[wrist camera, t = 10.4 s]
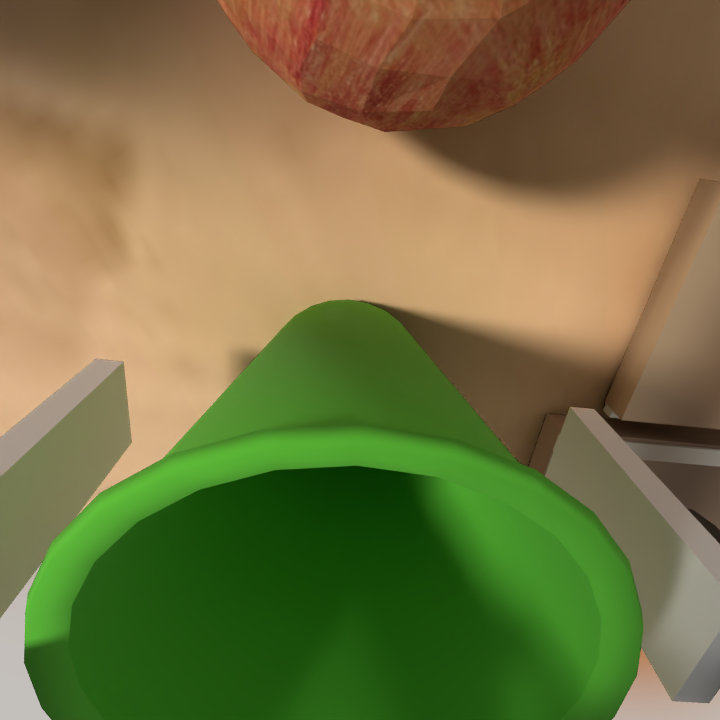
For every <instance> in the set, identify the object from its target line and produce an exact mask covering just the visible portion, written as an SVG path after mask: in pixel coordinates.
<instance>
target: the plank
mask: <svg viewBox="0 0 720 720" xmlns="http://www.w3.org/2000/svg"><path fill="white" fill-rule="evenodd" d="M605 403H606V405H605V407H604V409H603V411H604V412H605V413H606V414H607V415H608V416H609V417H610V418H620V419H621V420H626V421H637V422H647V423H658V424H668V425H679V426H689V427H700V428H710V429H720V182H718V181H710V180H703V179H700V180H699V182H698V184H697V187H696V189H695V191H694V194H693V196H692V198H691V201H690V203H689V205H688V208H687V210H686V212H685V215H684V217H683V219H682V222H681V224H680V226H679V229H678V231H677V233H676V236H675V238H674V241H673V243H672V245H671V248H670V250H669V252H668V255H667V257H666V259H665V262H664V264H663V266H662V269H661V271H660V273H659V276H658V278H657V280H656V283H655V285H654V287H653V290H652V292H651V294H650V297H649V299H648V302H647V304H646V306H645V309H644V311H643V313H642V316H641V318H640V320H639V323H638V325H637V327H636V330H635V332H634V334H633V337H632V339H631V341H630V344H629V346H628V348H627V351H626V353H625V355H624V358H623V360H622V363H621V365H620V367H619V370H618V372H617V374H616V377H615V379H614V381H613V384H612V386H611V388H610V391H609V393H608V395H607V398H606V400H605Z"/></svg>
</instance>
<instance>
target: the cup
mask: <svg viewBox="0 0 720 720" xmlns="http://www.w3.org/2000/svg"><path fill="white" fill-rule="evenodd" d="M643 630H644V628H643V616H642V609H641V605H640V601H639V597H638V593H637V589H636V585H635V581H634V577H633V573H632V569H631V565H630V562H629V560H628V558H627V557H626V556H625V554H624V553H623V552H622V550H621V549H620V547H619V546H618V545H617V543H616V542H615V540H614V539H613V538H612V536H611V535H610V533H609V532H608V531H607V529H606V528H605V527H604V525H603V524H602V522H601V521H600V520H599V518H598V517H597V515H596V514H595V513H594V512H593V511H592V510H590V509H589V508H588V507H586V506H585V505H584V504H582V503H581V502H579V501H578V500H577V499H575V498H574V497H573V496H571V495H570V494H568V493H567V492H566V491H564V490H563V489H562V488H560V487H559V486H557V485H556V484H555V483H553V482H552V481H551V480H549V479H548V478H546V477H545V476H544V475H542V474H541V473H540V472H538V471H537V470H535V469H533V468H530V467H528V466H525V465H523V464H520V463H518V461H517V460H516V459H515V458H514V457H513V455H512V454H511V453H510V452H509V451H508V450H507V448H506V447H505V446H504V445H503V444H502V442H501V441H500V440H499V439H498V438H497V437H496V435H495V434H494V433H493V432H492V431H491V429H490V428H489V427H488V426H487V425H486V423H485V422H484V421H483V420H482V419H481V418H480V416H479V415H478V414H477V413H476V412H475V410H474V409H473V408H472V407H471V406H470V405H469V403H468V402H467V401H466V400H465V399H464V397H463V396H462V395H461V394H460V393H459V392H458V390H457V389H456V388H455V387H454V386H453V384H452V383H451V382H450V381H449V380H448V378H447V377H446V376H445V375H444V374H443V373H442V371H441V370H440V369H439V368H438V367H437V365H436V364H435V363H434V362H433V361H432V360H431V358H430V357H429V356H428V355H427V354H426V352H425V351H424V350H423V349H422V348H421V347H420V345H419V344H418V343H417V342H416V341H415V339H414V338H413V337H412V336H411V335H410V333H409V332H408V331H407V330H406V329H405V328H404V326H403V325H402V324H401V323H400V322H399V321H398V320H397V319H395V318H394V317H393V316H391V315H390V314H389V313H388V312H386V311H385V310H383V309H380V308H378V307H376V306H373V305H371V304H369V303H365V302H359V301H354V300H334V301H327V302H324V303H320V304H317V305H314V306H311V307H309V308H307V309H306V310H304V311H302V312H301V313H299V314H297V315H295V316H294V317H293V318H292V319H291V320H290V321H289V322H288V323H287V324H286V325H285V326H284V327H283V328H282V329H281V331H280V332H279V333H278V334H277V335H276V336H275V337H274V338H273V339H272V340H271V341H270V343H269V344H268V345H267V346H266V347H265V348H264V349H263V350H262V351H261V352H260V353H259V355H258V356H257V357H256V358H255V359H254V360H253V361H252V362H251V363H250V364H249V365H248V367H247V368H246V369H245V370H244V371H243V372H242V373H241V374H240V375H239V376H238V377H237V379H236V380H235V381H234V382H233V383H232V384H231V385H230V386H229V387H228V388H227V389H226V391H225V392H224V393H223V394H222V395H221V396H220V397H219V398H218V399H217V400H216V401H215V403H214V404H213V405H212V406H211V407H210V408H209V409H208V410H207V411H206V412H205V413H204V415H203V416H202V417H201V418H200V419H199V420H198V421H197V422H196V423H195V424H194V425H193V427H192V428H191V429H190V430H189V431H188V432H187V433H186V434H185V435H184V436H183V437H182V439H181V440H180V441H179V442H178V443H177V444H176V445H175V446H174V447H173V448H172V449H171V451H170V452H169V453H168V454H167V455H166V456H165V457H164V458H163V459H162V460H160V461H158V462H156V463H154V464H152V465H151V466H149V467H147V468H145V469H143V470H141V471H140V472H138V473H136V474H134V475H132V476H130V477H129V478H127V479H125V480H123V481H121V482H119V483H118V484H116V485H114V486H112V487H110V488H108V489H107V490H105V491H103V492H101V493H100V494H99V495H98V496H97V497H96V498H95V499H94V500H93V501H92V502H91V503H90V504H89V505H88V506H87V507H86V508H85V509H84V510H83V511H82V512H81V513H80V514H79V515H78V516H77V517H76V518H75V519H74V520H73V521H72V522H71V523H70V524H69V525H68V526H67V527H66V528H65V529H64V530H63V531H62V532H61V533H60V534H59V535H58V536H57V537H56V538H55V539H54V540H53V541H52V542H51V544H50V546H49V549H48V551H47V553H46V555H45V557H44V560H43V562H42V564H41V566H40V568H39V571H38V573H37V575H36V577H35V579H34V581H33V584H32V586H31V588H30V590H29V592H28V597H27V605H26V613H25V651H24V664H25V666H26V669H27V671H28V674H29V677H30V679H31V682H32V684H33V687H34V689H35V692H36V694H37V697H38V700H39V702H40V705H41V707H42V709H43V710H44V711H45V712H46V714H47V715H48V716H49V717H50V718H51V720H612V719H613V718H614V717H615V715H616V713H617V711H618V709H619V708H620V706H621V704H622V702H623V700H624V698H625V696H626V694H627V693H628V691H629V689H630V687H631V685H632V683H633V682H634V680H635V678H636V676H637V670H638V664H639V658H640V651H641V644H642V637H643Z"/></svg>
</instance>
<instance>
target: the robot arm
mask: <svg viewBox="0 0 720 720" xmlns="http://www.w3.org/2000/svg"><path fill="white" fill-rule="evenodd" d="M131 443H132V441H131V431H130V421H129V411H128V401H127V390H126V380H125V370H124V362H123V361H113V360H103V359H95V360H94V361H92V362H91V363H90V364H89V365H88V366H86V367H85V368H84V369H83V370H81V371H80V372H79V373H78V374H77V375H75V376H74V377H73V378H72V379H71V380H69V381H68V382H67V383H66V384H64V385H63V386H62V387H61V388H60V389H58V390H57V391H56V392H55V393H54V394H52V395H51V396H50V397H49V398H47V399H46V400H45V401H44V402H43V403H41V404H40V405H39V406H38V407H37V408H35V409H34V410H33V411H32V412H30V413H29V414H28V415H27V416H26V417H24V418H23V419H22V420H21V421H20V422H18V423H17V424H16V425H15V426H13V427H12V428H11V429H10V430H9V431H7V432H6V433H5V434H4V435H3V436H1V437H0V618H1V616H2V615H3V614H4V612H5V611H6V610H7V608H8V607H9V606H10V604H11V603H12V601H13V600H14V599H15V598H16V596H17V595H18V594H19V592H20V591H21V590H22V588H23V587H24V585H25V584H26V583H27V582H28V580H29V579H30V578H31V576H32V575H33V574H34V572H35V571H36V570H37V568H38V567H39V566H40V564H41V563H42V562H43V560H44V557H45V555H46V553H47V551H48V549H49V546H50V544H51V542H52V541H53V540H54V539H55V538H56V537H57V536H58V535H59V534H60V533H61V532H62V531H63V530H64V529H65V528H66V527H67V526H68V525H69V524H70V523H71V522H72V521H73V520H74V519H75V517H76V516H77V515H78V513H79V512H80V511H81V509H82V508H83V507H84V505H85V504H86V503H87V501H88V500H89V499H90V497H91V496H92V495H93V493H94V492H95V491H96V489H97V488H98V487H99V485H100V484H101V483H102V481H103V480H104V479H105V477H106V476H107V475H108V473H109V472H110V471H111V469H112V468H113V467H114V465H115V464H116V463H117V461H118V460H119V459H120V457H121V456H122V455H123V453H124V452H125V451H126V449H127V448H128V447H129V445H130V444H131ZM545 477H546V478H548V479H549V480H551V481H552V482H553V483H555V484H556V485H557V486H559V487H560V488H562V489H563V490H564V491H566V492H567V493H568V494H570V495H571V496H573V497H574V498H575V499H577V500H578V501H579V502H581V503H582V504H584V505H585V506H586V507H588V508H589V509H590V510H592V511H593V512H594V513H595V514H596V515H597V517H598V518H599V520H600V521H601V522H602V524H603V525H604V527H605V528H606V529H607V531H608V532H609V533H610V535H611V536H612V538H613V539H614V540H615V542H616V543H617V545H618V546H619V547H620V549H621V550H622V552H623V553H624V554H625V556H626V557H627V558H628V560H629V562H630V565H631V569H632V573H633V577H634V581H635V585H636V589H637V593H638V597H639V601H640V605H641V609H642V616H643V628H644V630H643V637H642V644H641V648H642V650H643V651H644V653H645V655H646V657H647V658H648V660H649V662H650V663H651V665H652V667H653V669H654V670H655V672H656V674H657V675H658V677H659V679H660V681H661V682H662V684H663V686H664V688H665V689H666V691H667V693H668V694H669V696H670V698H671V700H672V701H682V702H698V703H710V701H711V700H712V698H713V697H714V696H715V695H716V693H717V692H718V690H719V689H720V530H719V529H718V528H717V527H716V526H715V525H714V524H713V523H711V522H710V521H708V520H707V519H705V518H704V517H703V516H701V515H700V514H698V513H697V512H696V511H694V510H693V509H687V508H686V507H685V506H684V505H683V504H682V503H681V502H680V501H679V500H678V499H677V498H676V497H675V495H674V494H673V493H672V492H671V491H670V490H669V489H668V488H667V487H666V486H665V485H664V484H663V483H662V481H661V480H660V479H659V478H658V477H657V476H656V475H655V474H654V473H653V472H652V471H651V470H650V469H649V467H648V466H647V465H646V464H645V463H644V462H643V461H642V460H641V459H640V458H639V457H638V456H637V455H636V453H635V452H634V451H633V450H632V449H631V448H630V447H629V446H628V445H627V444H626V443H625V442H624V441H623V440H622V438H621V437H620V436H619V435H618V434H617V433H616V432H615V431H614V430H613V429H612V428H611V427H610V426H609V424H608V423H607V422H606V421H605V420H604V419H603V418H602V417H601V416H600V415H599V414H598V413H597V412H596V410H595V409H588V408H578V407H570V408H569V411H568V413H567V416H566V419H565V422H564V424H563V427H562V430H561V433H560V436H559V438H558V441H557V444H556V447H555V449H554V452H553V455H552V458H551V461H550V463H549V466H548V469H547V472H546V474H545Z"/></svg>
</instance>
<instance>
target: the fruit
mask: <svg viewBox="0 0 720 720" xmlns="http://www.w3.org/2000/svg"><path fill="white" fill-rule="evenodd" d="M629 1H630V0H218V2H219V4H220V5H221V7H222V8H223V10H224V12H225V13H226V15H227V16H228V18H229V19H230V21H231V22H232V23H233V25H234V26H235V28H236V29H237V30H238V32H239V33H240V35H241V36H242V37H243V39H244V40H245V42H246V43H247V45H248V46H249V47H250V49H251V50H252V51H253V52H254V53H255V54H256V55H257V56H258V57H259V58H260V59H261V60H262V61H263V62H265V63H266V64H267V65H268V66H269V67H270V68H271V69H272V70H273V71H274V72H275V73H277V74H278V75H279V76H280V77H281V78H282V79H283V80H284V81H285V82H286V83H287V84H288V85H290V86H291V87H292V88H293V89H294V90H295V91H296V92H297V93H298V94H299V95H300V96H302V97H303V98H304V99H305V100H306V101H307V102H309V103H311V104H314V105H316V106H318V107H320V108H323V109H325V110H327V111H330V112H332V113H334V114H336V115H339V116H341V117H343V118H346V119H349V120H352V121H355V122H358V123H361V124H364V125H367V126H369V127H372V128H375V129H378V130H381V131H384V132H390V131H404V130H419V129H433V128H448V127H463V126H467V125H470V124H472V123H474V122H477V121H479V120H481V119H483V118H486V117H488V116H490V115H493V114H495V113H497V112H500V111H502V110H504V109H506V108H509V107H511V106H513V105H515V104H517V103H518V102H520V101H521V100H523V99H524V98H526V97H527V96H529V95H530V94H532V93H533V92H535V91H536V90H537V89H539V88H540V87H542V86H543V85H545V84H546V83H547V82H549V81H550V80H551V79H553V78H554V77H556V76H557V75H558V74H560V73H561V72H562V71H564V70H565V69H566V68H568V67H569V66H570V65H572V64H573V63H574V62H576V61H577V60H578V59H579V57H580V56H581V55H582V54H583V53H584V52H585V51H586V50H587V49H588V47H589V46H590V45H591V44H592V43H593V42H594V41H595V40H596V38H597V37H598V36H599V35H600V34H601V33H602V32H603V31H604V29H605V28H606V27H607V26H608V25H609V24H610V23H611V22H612V20H613V19H614V18H615V17H616V16H617V15H618V14H619V13H620V12H621V10H622V9H623V8H624V7H625V6H626V5H627V4H628V3H629Z"/></svg>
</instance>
